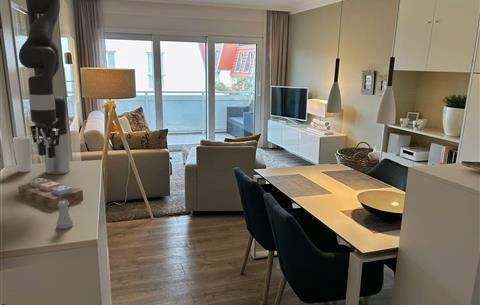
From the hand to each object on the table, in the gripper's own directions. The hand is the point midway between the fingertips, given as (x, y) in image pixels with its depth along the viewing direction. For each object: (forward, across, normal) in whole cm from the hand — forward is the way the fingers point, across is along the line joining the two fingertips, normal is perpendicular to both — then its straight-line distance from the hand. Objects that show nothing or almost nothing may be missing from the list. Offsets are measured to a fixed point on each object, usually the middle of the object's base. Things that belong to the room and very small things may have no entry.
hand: (47, 156), depth 121 cm
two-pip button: (+13, -7, 0) cm, 14 cm away
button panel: (+15, 0, 0) cm, 15 cm away
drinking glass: (+16, +39, -12) cm, 44 cm away
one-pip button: (+13, 0, 0) cm, 13 cm away
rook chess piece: (+16, -25, +11) cm, 31 cm away
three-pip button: (+13, +7, 0) cm, 14 cm away
